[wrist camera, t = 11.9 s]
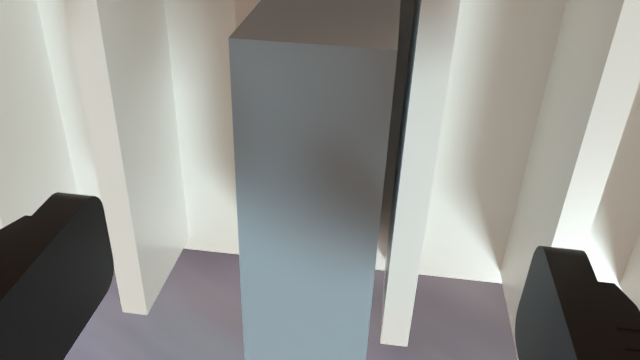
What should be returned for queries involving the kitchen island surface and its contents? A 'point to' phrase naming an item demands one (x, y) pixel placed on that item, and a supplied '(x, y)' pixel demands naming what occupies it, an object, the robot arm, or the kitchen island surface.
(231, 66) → the grey board
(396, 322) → the dish rack
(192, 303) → the kitchen island surface
